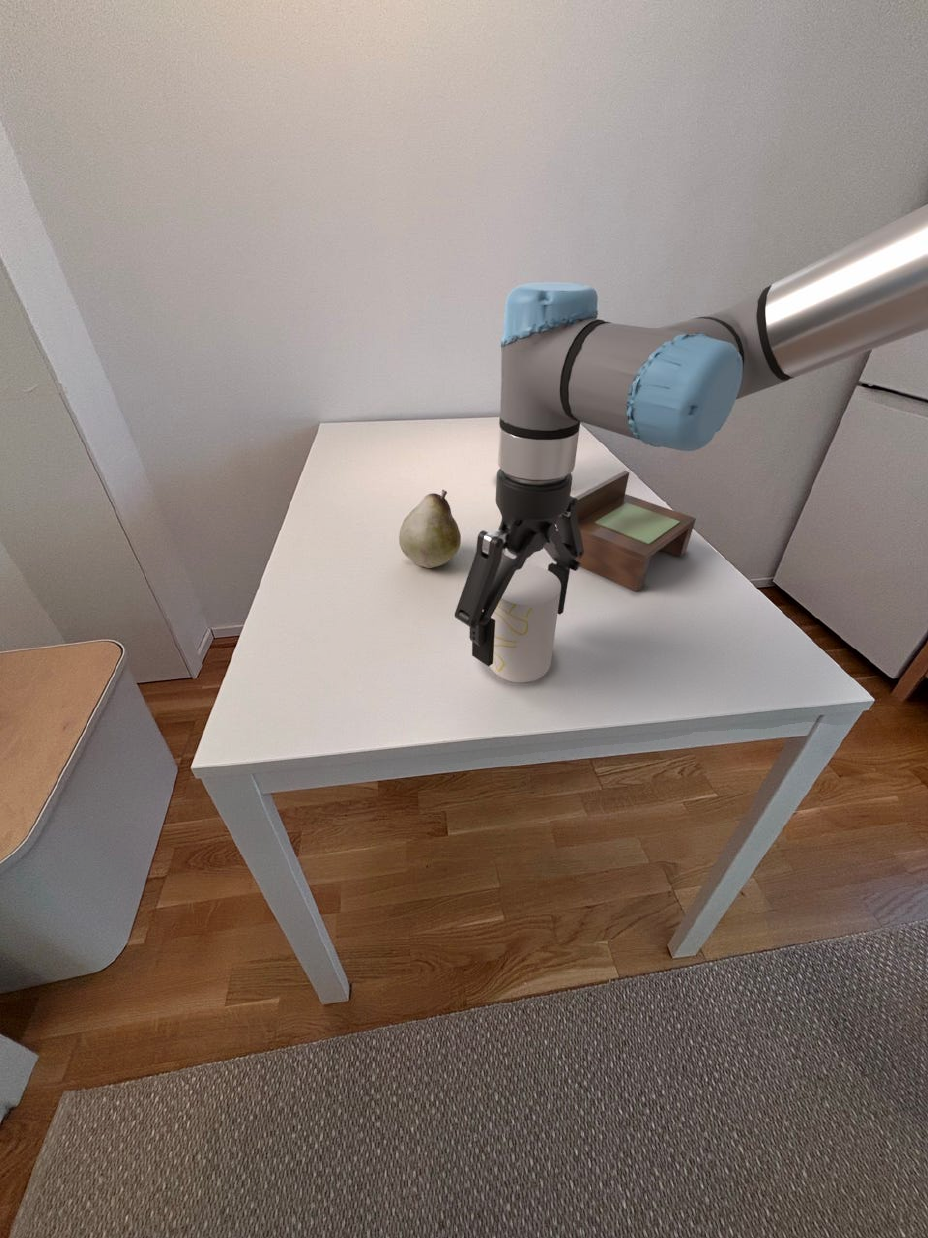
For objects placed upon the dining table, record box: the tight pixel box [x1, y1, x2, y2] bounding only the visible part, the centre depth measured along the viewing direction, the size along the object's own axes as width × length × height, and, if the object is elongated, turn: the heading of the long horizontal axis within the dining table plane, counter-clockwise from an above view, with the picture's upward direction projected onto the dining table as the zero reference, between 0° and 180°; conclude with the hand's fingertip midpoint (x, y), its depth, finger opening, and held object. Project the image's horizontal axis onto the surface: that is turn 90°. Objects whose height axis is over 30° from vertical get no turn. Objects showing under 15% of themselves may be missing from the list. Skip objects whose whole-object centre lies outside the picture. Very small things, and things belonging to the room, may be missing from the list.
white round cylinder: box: [489, 564, 561, 683], centre depth 63 cm, size 8×8×12 cm
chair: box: [573, 470, 697, 593], centre depth 84 cm, size 14×16×10 cm
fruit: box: [398, 489, 462, 569], centre depth 82 cm, size 10×9×12 cm
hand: (519, 633), depth 64 cm, fingers open, 13 cm apart
